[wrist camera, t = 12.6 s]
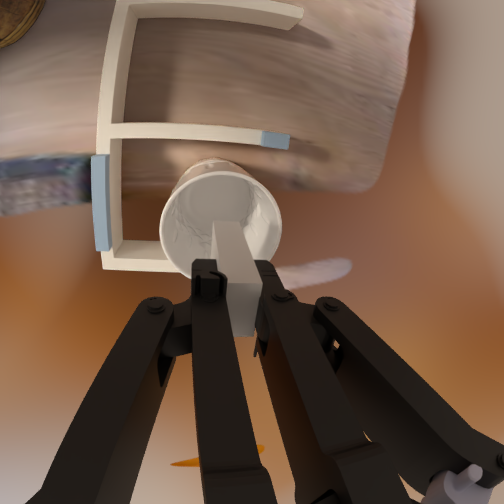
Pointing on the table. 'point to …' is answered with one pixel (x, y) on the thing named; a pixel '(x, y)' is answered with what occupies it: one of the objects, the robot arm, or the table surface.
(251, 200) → the white cup
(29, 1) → the wooden mug
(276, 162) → the table surface
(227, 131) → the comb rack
